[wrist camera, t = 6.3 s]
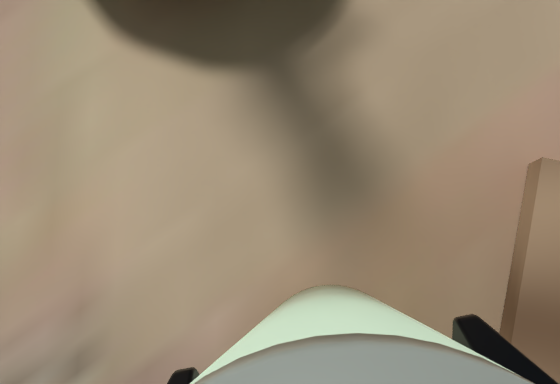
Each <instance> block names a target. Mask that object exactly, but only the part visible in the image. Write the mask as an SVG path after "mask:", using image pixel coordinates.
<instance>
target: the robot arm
mask: <svg viewBox="0 0 560 384" xmlns="http://www.w3.org/2000/svg"><path fill="white" fill-rule="evenodd" d="M452 340H454V341H456V342H458V343H460V344H461V345H463V346H465V347H467V348H469V349H471V350H473V351H475V352H476V353H478V354H480V355H482V356H484V357H486V358H488V359H490V360H491V361H493V362H495V363H497V364H499V365H501V366H503V367H505V368H506V369H508V370H510V371H512V372H514V373H516V374H518V375H520V376H521V377H523V378H525V379H527V380H529V381H531V382H533V383H535V384H559V383H558V382H556V381H555V380H554V379H553V378H552V377H550V376H549V375H548V374H547V373H546V372H544V371H543V370H542V369H541V368H540V367H538V366H537V365H536V364H535V363H534V362H532V361H531V360H530V359H529V358H528V357H526V356H525V355H524V354H523V353H522V352H520V351H519V350H518V349H517V348H516V347H514V346H513V345H512V344H511V343H510V342H508V341H507V340H506V339H505V338H504V337H502V336H501V335H500V334H499V333H498V332H496V331H495V330H494V329H493V328H492V327H490V326H489V325H488V324H487V323H486V322H484V321H483V320H482V319H481V318H480V317H478V316H477V315H474V314H470V315H465V316H460V317H456V318H454V320H453V334H452ZM198 376H199V373H198V371H197V370H196V369H195V368H194V367H191V368H185V369H180V370H177V371H175V372H174V373H173V374H172V376H171V377H170V379H169V381H168V383H167V384H190V383H191V382H192V381H193V380H194V379H196V378H197V377H198Z"/></svg>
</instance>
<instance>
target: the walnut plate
mask: <svg viewBox="0 0 560 384" xmlns="http://www.w3.org/2000/svg"><path fill="white" fill-rule="evenodd" d="M500 335H501V336H502V337H504V338H505V339H506V340H507V341H508V342H510V343H511V344H512V345H513V346H514V347H516V348H517V349H518V350H519V351H520V352H522V353H523V354H524V355H525V356H526V357H528V358H529V359H530V360H531V361H532V362H534V363H535V364H536V365H537V366H538V367H540V368H541V369H542V370H543V371H544V372H546V373H547V374H548V375H549V376H550V377H552V378H553V379H554V380H555V381H556V382H558V383H559V384H560V161H558V160H553V159H548V158H543V157H542V158H540V159H538V160H536V161H534V162H532V163H530V164H529V166H528V171H527V177H526V183H525V189H524V195H523V200H522V206H521V212H520V218H519V224H518V229H517V235H516V241H515V247H514V253H513V258H512V264H511V270H510V276H509V282H508V288H507V293H506V299H505V305H504V311H503V317H502V322H501V328H500Z"/></svg>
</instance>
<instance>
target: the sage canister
mask: <svg viewBox="0 0 560 384" xmlns="http://www.w3.org/2000/svg"><path fill="white" fill-rule="evenodd" d="M190 384H535V383H533V382H531V381H529V380H527V379H525V378H523V377H521V376H520V375H518V374H516V373H514V372H512V371H510V370H508V369H506V368H505V367H503V366H501V365H499V364H497V363H495V362H493V361H491V360H490V359H488V358H486V357H484V356H482V355H480V354H478V353H476V352H475V351H473V350H471V349H469V348H467V347H465V346H463V345H461V344H460V343H458V342H456V341H454V340H452V339H450V338H448V337H446V336H445V335H443V334H441V333H439V332H437V331H435V330H433V329H431V328H430V327H428V326H426V325H424V324H422V323H420V322H418V321H416V320H415V319H413V318H411V317H409V316H407V315H405V314H403V313H401V312H400V311H398V310H396V309H394V308H392V307H390V306H388V305H386V304H385V303H383V302H381V301H379V300H377V299H375V298H373V297H371V296H370V295H368V294H366V293H363V292H361V291H359V290H356V289H353V288H350V287H346V286H340V285H321V286H316V287H311V288H308V289H306V290H303V291H301V292H299V293H297V294H295V295H293V296H292V297H290V298H289V299H287V300H286V301H285V302H283V303H282V304H281V305H280V306H279V307H278V308H277V309H275V310H274V311H273V312H272V313H271V314H270V315H268V316H267V317H266V318H265V319H264V320H263V321H261V322H260V323H259V324H258V325H257V326H256V327H255V328H253V329H252V330H251V331H250V332H249V333H248V334H246V335H245V336H244V337H243V338H242V339H241V340H240V341H238V342H237V343H236V344H235V345H234V346H233V347H231V348H230V349H229V350H228V351H227V352H226V353H224V354H223V355H222V356H221V357H220V358H219V359H218V360H216V361H215V362H214V363H213V364H212V365H211V366H209V367H208V368H207V369H206V370H205V371H204V372H203V373H201V374H200V375H199V376H198V377H197V378H196V379H194V380H193V381H192V382H191V383H190Z"/></svg>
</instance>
